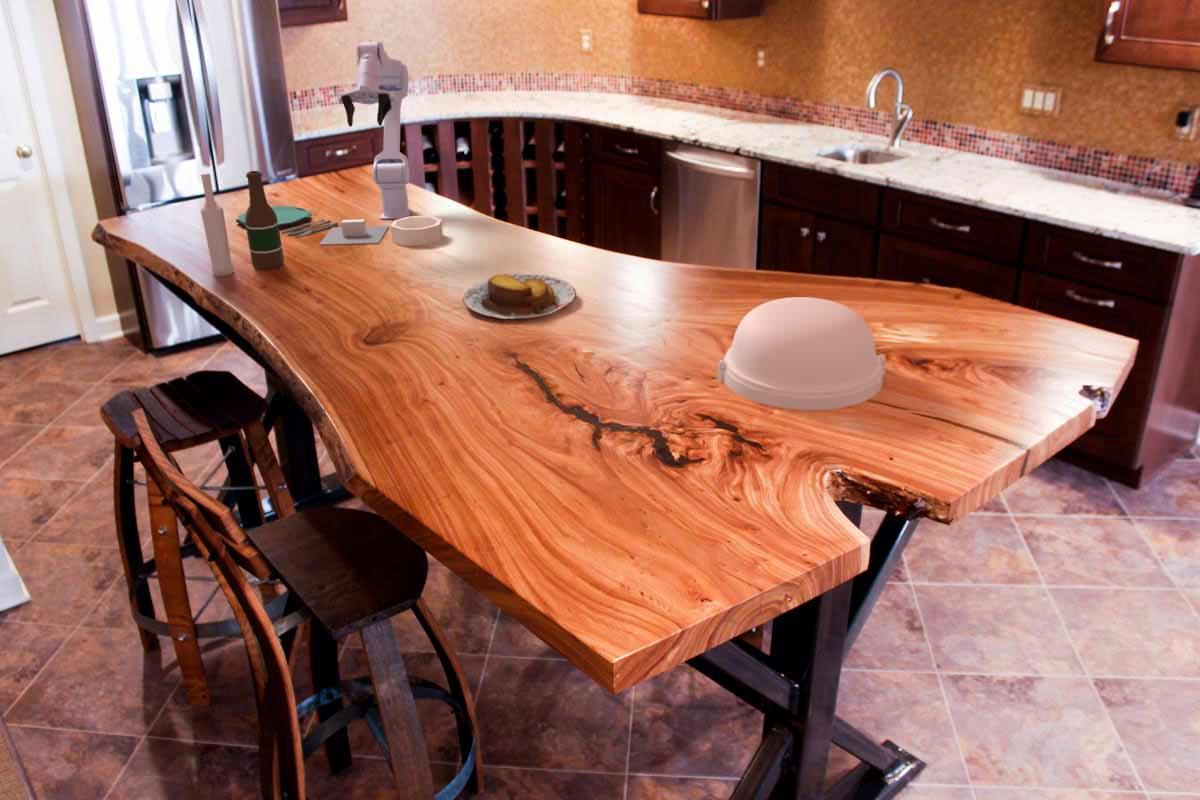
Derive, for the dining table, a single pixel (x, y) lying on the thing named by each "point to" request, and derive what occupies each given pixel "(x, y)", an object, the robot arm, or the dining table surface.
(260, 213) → the beer bottle
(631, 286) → the dining table surface
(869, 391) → the dome cover
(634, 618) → the dining table surface
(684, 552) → the dining table surface
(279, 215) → the cutlery set
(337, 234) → the lid
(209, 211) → the bottle
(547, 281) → the food on plate
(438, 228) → the bowl
